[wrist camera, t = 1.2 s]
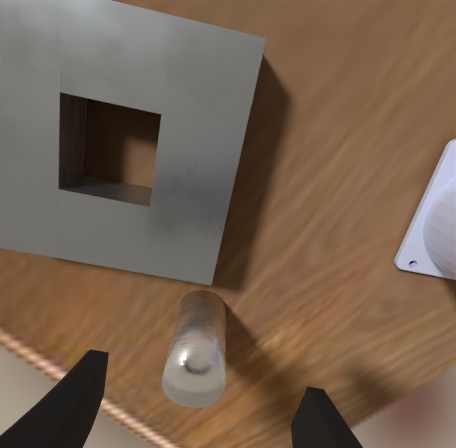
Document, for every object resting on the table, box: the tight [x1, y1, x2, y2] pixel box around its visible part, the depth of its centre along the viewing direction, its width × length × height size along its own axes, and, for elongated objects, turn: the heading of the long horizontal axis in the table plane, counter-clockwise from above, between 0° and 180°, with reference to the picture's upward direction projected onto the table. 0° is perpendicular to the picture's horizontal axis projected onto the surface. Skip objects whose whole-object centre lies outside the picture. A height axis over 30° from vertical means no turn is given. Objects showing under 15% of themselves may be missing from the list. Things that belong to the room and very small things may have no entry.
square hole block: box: [0, 0, 266, 286], centre depth 16 cm, size 20×12×3 cm, turn 78°
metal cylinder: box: [162, 291, 226, 408], centre depth 19 cm, size 3×3×6 cm
